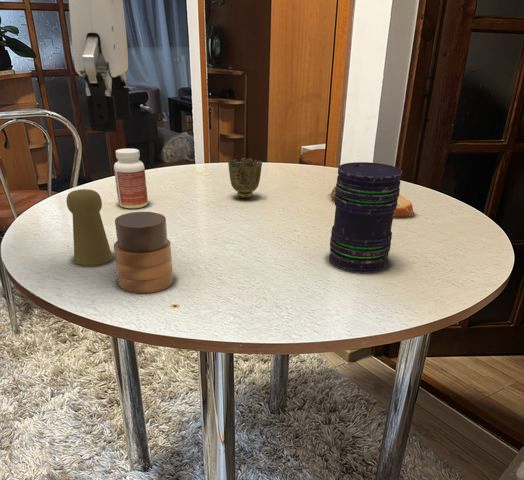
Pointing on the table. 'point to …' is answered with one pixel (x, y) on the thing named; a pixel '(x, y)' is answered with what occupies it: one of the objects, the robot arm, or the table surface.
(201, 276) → the table surface
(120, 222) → the walnut chip
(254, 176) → the cup
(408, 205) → the bread slice
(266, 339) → the table surface
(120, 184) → the pill bottle
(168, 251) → the pile chip
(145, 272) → the pile chip
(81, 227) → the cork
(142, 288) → the pile chip
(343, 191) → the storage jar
